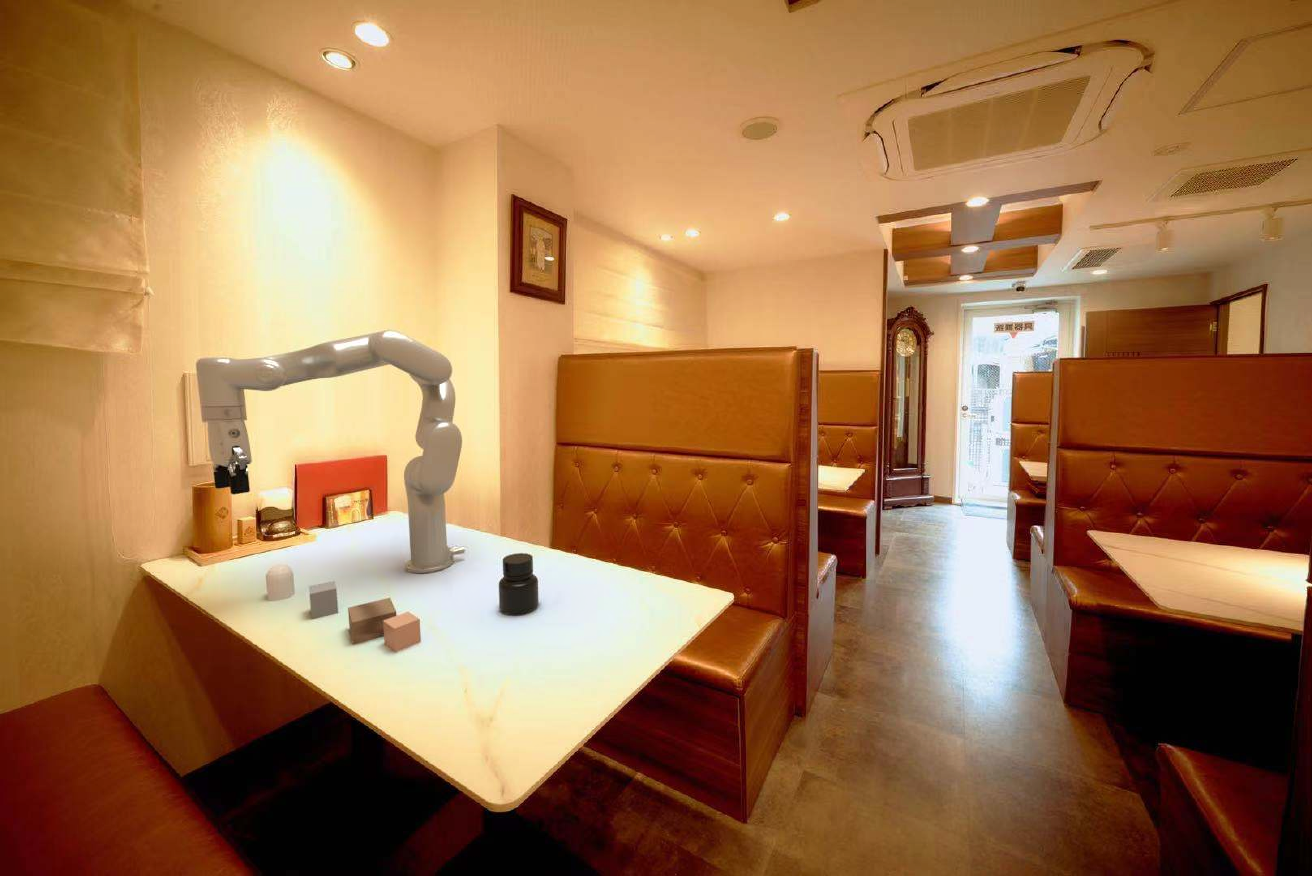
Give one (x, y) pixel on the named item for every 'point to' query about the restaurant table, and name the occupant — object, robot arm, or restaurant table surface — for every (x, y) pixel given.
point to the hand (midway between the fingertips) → (232, 490)
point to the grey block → (323, 599)
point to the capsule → (280, 582)
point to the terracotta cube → (401, 631)
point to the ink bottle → (518, 585)
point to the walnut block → (369, 619)
